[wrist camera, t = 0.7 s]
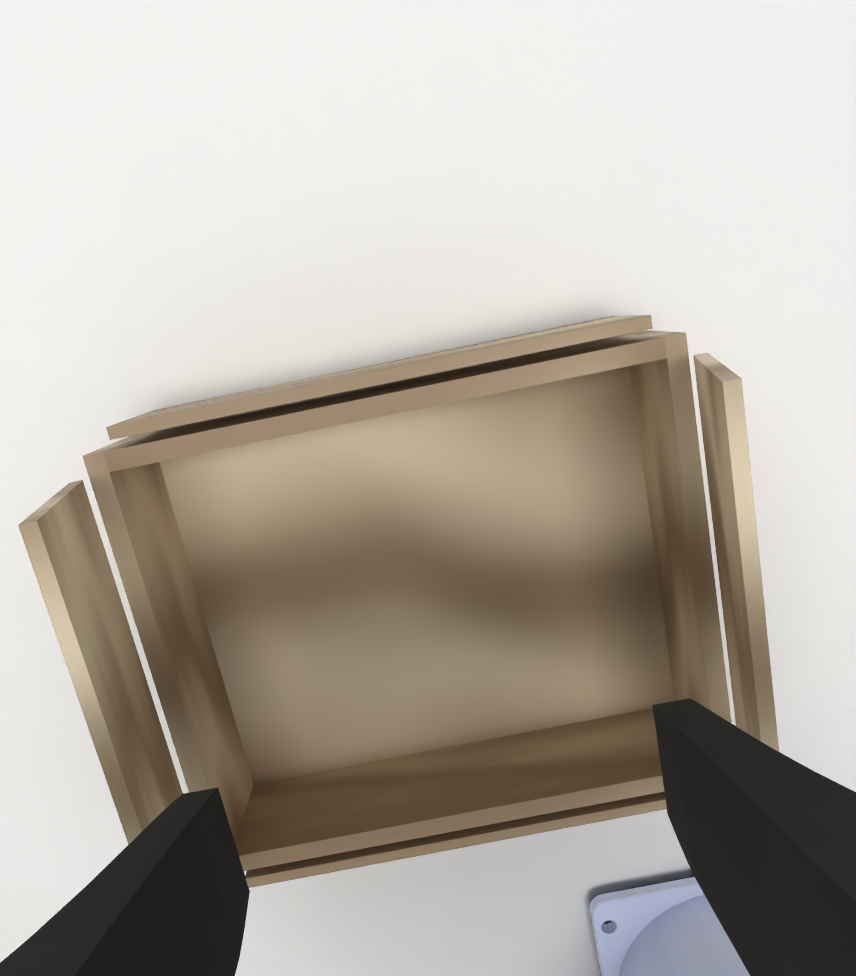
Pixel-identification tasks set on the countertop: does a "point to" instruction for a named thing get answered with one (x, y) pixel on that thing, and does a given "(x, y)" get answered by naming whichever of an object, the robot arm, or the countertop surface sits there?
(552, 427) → the carton
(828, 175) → the countertop surface
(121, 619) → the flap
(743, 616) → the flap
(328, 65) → the countertop surface
